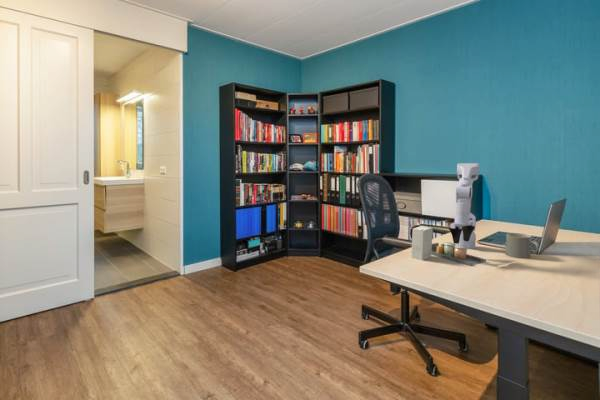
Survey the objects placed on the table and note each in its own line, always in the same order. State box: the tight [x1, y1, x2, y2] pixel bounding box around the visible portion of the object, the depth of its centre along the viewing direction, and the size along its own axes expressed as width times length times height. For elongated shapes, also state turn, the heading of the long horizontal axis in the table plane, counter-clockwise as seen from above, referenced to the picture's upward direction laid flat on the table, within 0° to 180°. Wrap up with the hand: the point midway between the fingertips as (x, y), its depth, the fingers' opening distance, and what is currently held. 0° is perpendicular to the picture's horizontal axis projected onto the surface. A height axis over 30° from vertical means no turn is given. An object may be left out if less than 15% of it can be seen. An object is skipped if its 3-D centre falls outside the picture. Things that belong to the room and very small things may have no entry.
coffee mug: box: [504, 232, 540, 260], centre depth 157 cm, size 13×10×10 cm
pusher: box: [436, 243, 444, 254], centre depth 160 cm, size 8×1×5 cm, turn 119°
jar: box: [454, 245, 468, 260], centre depth 152 cm, size 5×5×6 cm
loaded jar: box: [443, 241, 456, 257], centre depth 157 cm, size 5×5×6 cm
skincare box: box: [410, 225, 433, 261], centre depth 154 cm, size 8×6×15 cm
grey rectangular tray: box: [431, 242, 487, 267], centre depth 156 cm, size 12×26×4 cm, turn 29°
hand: (461, 242), depth 152 cm, fingers open, 7 cm apart
